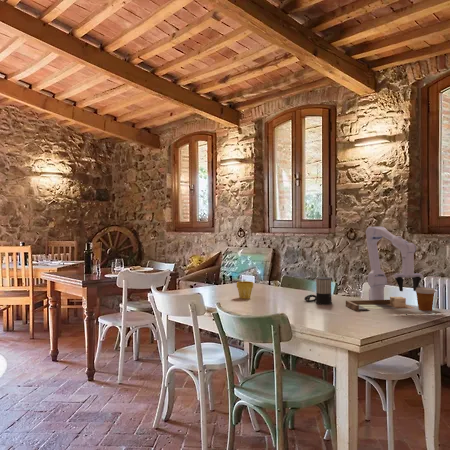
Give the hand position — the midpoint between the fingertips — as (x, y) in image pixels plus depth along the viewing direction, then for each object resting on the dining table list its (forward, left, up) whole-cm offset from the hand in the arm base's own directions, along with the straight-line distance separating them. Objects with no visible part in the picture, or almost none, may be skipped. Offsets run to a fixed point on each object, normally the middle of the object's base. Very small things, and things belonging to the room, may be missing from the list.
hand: (408, 291), depth 240 cm
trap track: (-4, -14, -10) cm, 17 cm away
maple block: (-4, -4, -9) cm, 10 cm away
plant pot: (-47, -82, -10) cm, 95 cm away
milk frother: (-25, -42, -10) cm, 50 cm away
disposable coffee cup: (+8, +5, -10) cm, 14 cm away
